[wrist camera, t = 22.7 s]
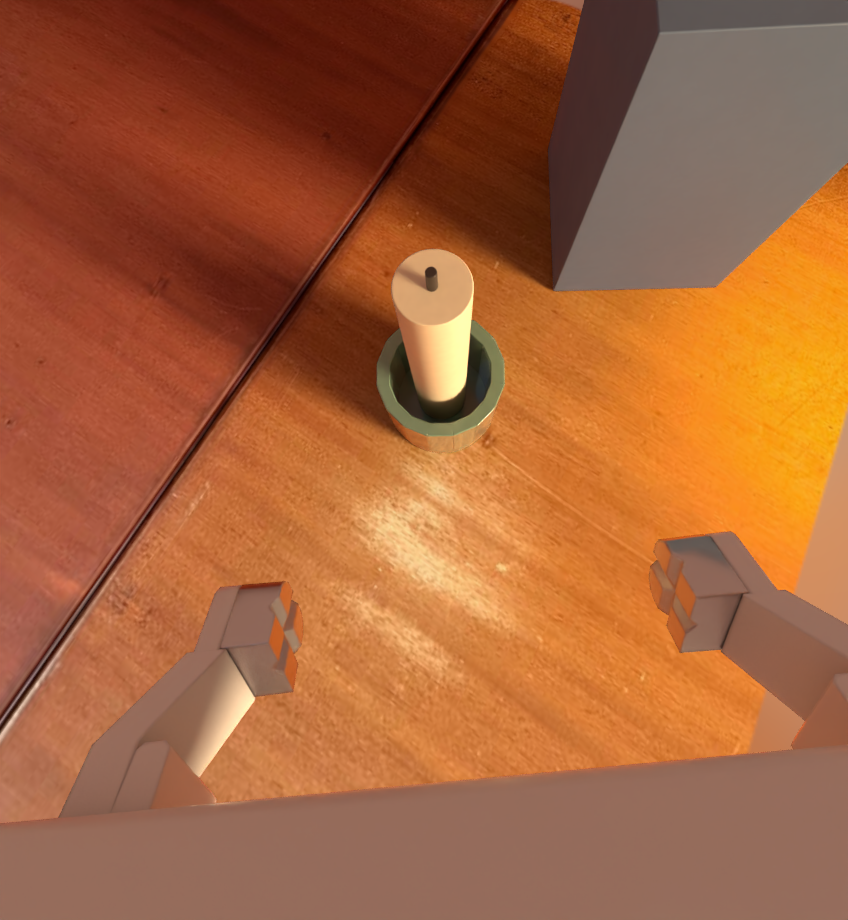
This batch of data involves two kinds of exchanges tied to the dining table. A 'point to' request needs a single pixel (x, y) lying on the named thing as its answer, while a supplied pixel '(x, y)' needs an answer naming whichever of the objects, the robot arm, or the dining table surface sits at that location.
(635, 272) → the riser
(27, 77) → the dining table surface
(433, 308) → the taper
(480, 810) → the robot arm
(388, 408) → the holder
